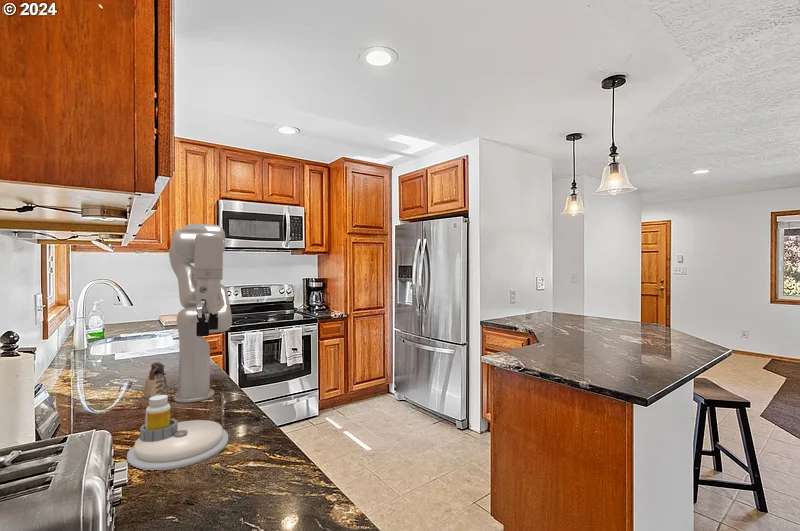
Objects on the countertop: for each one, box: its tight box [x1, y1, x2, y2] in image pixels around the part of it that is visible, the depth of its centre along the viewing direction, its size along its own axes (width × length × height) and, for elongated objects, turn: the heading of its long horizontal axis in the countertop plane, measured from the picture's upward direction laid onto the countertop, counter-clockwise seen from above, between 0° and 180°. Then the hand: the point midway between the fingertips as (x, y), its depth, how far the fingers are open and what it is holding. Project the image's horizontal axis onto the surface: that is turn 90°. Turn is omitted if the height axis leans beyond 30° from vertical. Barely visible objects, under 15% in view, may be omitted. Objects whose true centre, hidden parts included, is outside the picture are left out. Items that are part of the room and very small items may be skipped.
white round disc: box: [134, 418, 223, 462], centre depth 96 cm, size 19×19×4 cm
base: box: [126, 428, 229, 472], centre depth 96 cm, size 22×22×1 cm
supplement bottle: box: [144, 395, 172, 430], centre depth 96 cm, size 5×5×10 cm
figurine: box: [143, 361, 169, 400], centre depth 135 cm, size 7×7×12 cm
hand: (207, 332), depth 113 cm, fingers open, 9 cm apart
